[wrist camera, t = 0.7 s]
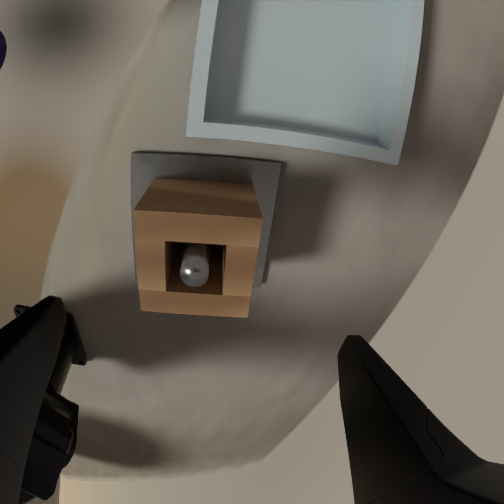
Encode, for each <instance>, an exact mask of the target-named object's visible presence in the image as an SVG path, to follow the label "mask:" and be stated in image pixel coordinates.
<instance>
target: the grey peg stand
mask: <svg viewBox="0 0 504 504" xmlns="http://www.w3.org/2000/svg"><path fill="white" fill-rule="evenodd" d="M280 170H281V162H274V161H265V160H255V159H245V158H234V157H223V156H209V155H194V154H176V153H151V152H132V153H131V209H132V232H133V249H134V262H135V274H136V279H137V280H138V278H137V266H136V253H135V236H134V214H133V210H134V208H135V207H136V205H137V204H138V202H139V201H140V199H141V197H142V196H143V194H144V193H145V191H146V190H147V188H148V187H149V185H150V184H151V182H152V181H153V179H154V178H161V179H181V180H197V181H212V182H225V183H237V184H249V185H254V189H255V192H256V196H257V199H258V203H259V207H260V210H261V214H262V217H263V222H262V228H261V235H260V241H259V248H258V254H257V261H256V267H255V274H254V280H253V287H261V284H262V278H263V272H264V267H265V261H266V255H267V249H268V243H269V237H270V231H271V225H272V219H273V213H274V207H275V201H276V195H277V189H278V183H279V176H280ZM177 245H180V246H185V249H184V254H183V259H182V264H181V270H180V278H181V280H182V281H183V282H184V283H185V284H186V285H188V286H192V287H198V286H201V285H203V284H205V283H206V281H207V280H208V276H209V258H210V247H211V248H222V245H219V244H204V243H189V242H177Z"/></svg>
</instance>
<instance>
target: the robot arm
mask: <svg viewBox="0 0 504 504" xmlns="http://www.w3.org/2000/svg"><path fill="white" fill-rule="evenodd" d="M14 312H15V315H16V317H17V318H15V319H14V320H12V321H11V322H9V323H8V324H7V325H5V326H4V327H2V328H1V329H0V504H26V503H28V502H30V501H32V500H33V499H35V498H39V499H41V500H44V501H46V500H48V499H49V498H50V497H51V496H52V495H53V494H54V493H55V489H56V485H57V482H58V478H59V475H60V473H61V470H62V469H63V468H64V467H66V466H67V464H68V463H69V462H70V460H71V458H72V456H73V453H74V450H75V447H76V440H77V423H78V410H79V405H77V404H76V403H74V402H73V403H72V402H71V401H69V400H68V399H66V398H65V397H63V396H61V395H60V394H61V391H62V388H63V385H64V383H65V380H66V377H67V374H68V372H69V369H70V366H71V364H77V365H82V366H84V365H86V363H87V359H86V356H85V353H84V350H83V347H82V344H81V341H80V338H79V334H78V331H77V328H76V325H75V321H74V318H73V316H72V315H71V314H70V313H67V312H65V309H64V305H63V302H62V299H61V298H60V297H56V296H51V295H50V296H48V297H46V298H44V299H43V300H41V301H40V302H38V303H37V304H35V305H34V306H33V307H28V306H23V305H16V306H15V308H14ZM338 371H339V388H340V401H341V408H342V414H343V420H344V426H345V433H346V440H347V447H348V454H349V461H350V469H351V476H352V484H353V493H354V502H355V504H504V464H498V463H493V462H488V461H486V460H484V459H482V458H480V457H478V456H477V455H476V454H474V452H472V451H471V450H470V449H469V448H468V447H467V446H466V445H465V444H463V443H462V442H461V441H460V440H459V439H458V438H457V437H456V436H455V435H454V434H453V433H452V432H451V431H450V430H449V429H448V428H447V427H445V426H444V425H443V423H442V422H441V421H440V420H439V419H438V418H437V417H436V416H435V415H434V414H433V413H432V412H431V411H430V410H429V409H427V406H426V405H425V404H424V403H423V402H422V401H421V400H420V399H419V398H418V397H417V395H416V394H415V393H414V392H413V391H412V390H411V389H410V388H409V387H408V386H407V385H406V384H405V383H404V381H403V380H402V379H401V378H400V377H399V376H398V375H397V374H396V373H395V372H394V371H393V370H392V369H391V367H390V366H389V365H388V364H387V363H386V362H385V361H384V360H383V359H382V358H381V357H380V356H379V355H378V354H377V352H376V351H375V350H374V349H373V348H372V347H371V346H370V345H369V344H368V343H367V342H366V341H365V340H364V339H363V338H362V337H361V336H360V335H348V336H347V337H346V339H345V341H344V342H343V344H342V346H341V348H340V350H339V352H338Z"/></svg>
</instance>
